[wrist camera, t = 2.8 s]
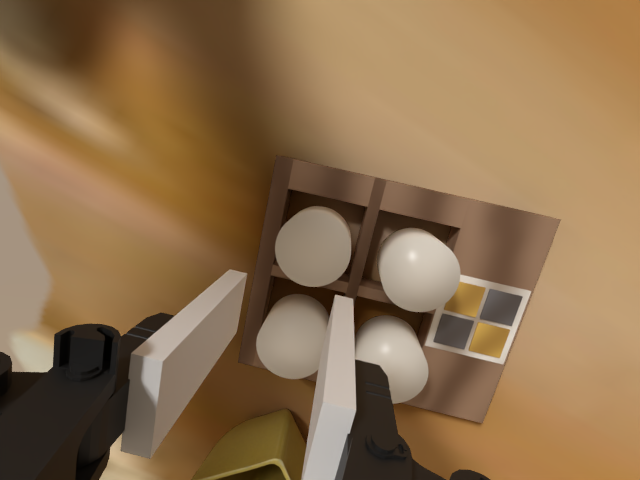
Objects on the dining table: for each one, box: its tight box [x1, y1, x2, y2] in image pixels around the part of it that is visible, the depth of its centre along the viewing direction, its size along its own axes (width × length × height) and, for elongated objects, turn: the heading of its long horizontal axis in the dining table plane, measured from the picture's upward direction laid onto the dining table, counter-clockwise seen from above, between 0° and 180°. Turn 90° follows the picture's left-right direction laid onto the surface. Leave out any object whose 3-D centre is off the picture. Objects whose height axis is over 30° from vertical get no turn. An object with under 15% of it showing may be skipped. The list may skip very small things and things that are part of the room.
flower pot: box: [191, 409, 306, 480], centre depth 33 cm, size 9×9×9 cm
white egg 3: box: [377, 228, 460, 312], centre depth 27 cm, size 6×6×4 cm
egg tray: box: [238, 155, 560, 423], centre depth 32 cm, size 24×20×3 cm
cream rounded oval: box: [354, 315, 428, 404], centre depth 29 cm, size 6×6×4 cm
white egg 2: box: [256, 294, 329, 379], centre depth 29 cm, size 6×6×4 cm
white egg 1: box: [275, 206, 351, 287], centre depth 27 cm, size 6×6×4 cm
